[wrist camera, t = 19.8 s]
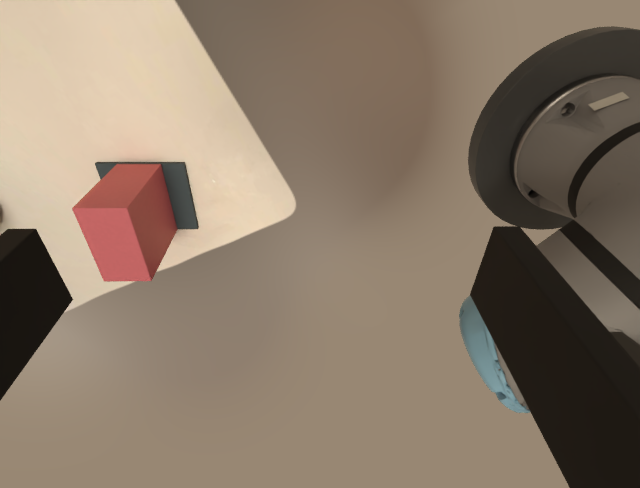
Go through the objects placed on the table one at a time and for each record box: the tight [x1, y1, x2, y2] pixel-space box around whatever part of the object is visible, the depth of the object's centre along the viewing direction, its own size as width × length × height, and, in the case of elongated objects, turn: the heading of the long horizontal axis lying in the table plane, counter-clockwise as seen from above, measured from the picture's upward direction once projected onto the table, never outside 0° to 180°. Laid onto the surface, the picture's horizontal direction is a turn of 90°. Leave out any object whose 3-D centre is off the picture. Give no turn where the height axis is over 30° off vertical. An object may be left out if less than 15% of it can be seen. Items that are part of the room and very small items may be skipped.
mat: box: [95, 162, 198, 229], centre depth 45 cm, size 10×9×1 cm
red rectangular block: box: [72, 164, 177, 281], centre depth 41 cm, size 5×9×10 cm, turn 179°
